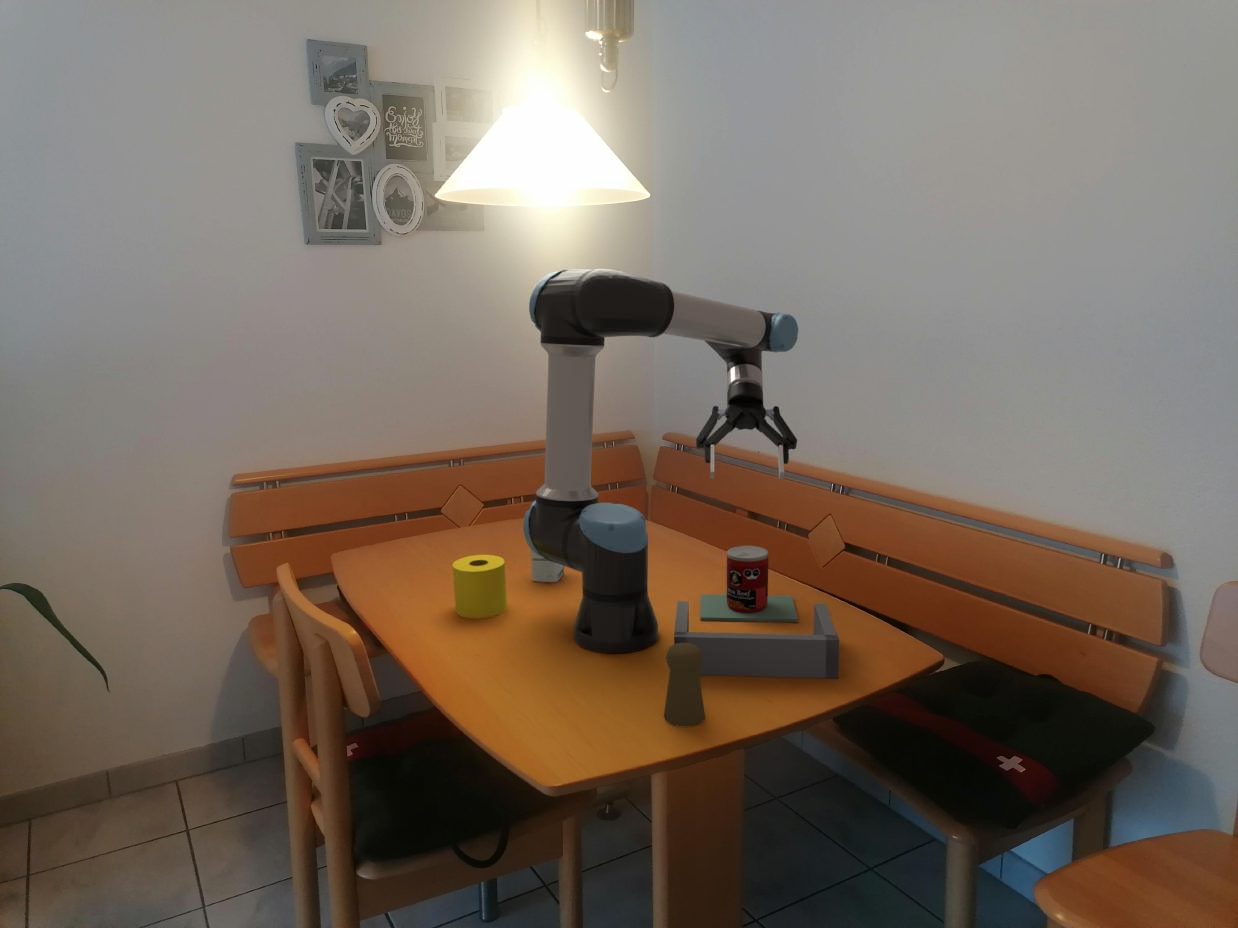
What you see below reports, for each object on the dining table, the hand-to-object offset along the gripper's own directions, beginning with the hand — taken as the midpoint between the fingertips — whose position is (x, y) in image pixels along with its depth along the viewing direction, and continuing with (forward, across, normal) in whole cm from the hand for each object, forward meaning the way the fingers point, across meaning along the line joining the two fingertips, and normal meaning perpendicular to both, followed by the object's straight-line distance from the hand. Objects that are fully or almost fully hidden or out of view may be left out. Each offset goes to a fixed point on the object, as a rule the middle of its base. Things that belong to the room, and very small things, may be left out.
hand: (746, 475), depth 169 cm
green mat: (+24, 0, -10) cm, 26 cm away
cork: (+54, +11, +19) cm, 58 cm away
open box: (+38, 0, +4) cm, 38 cm away
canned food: (+24, 0, -10) cm, 26 cm away
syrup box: (+13, +42, -22) cm, 49 cm away
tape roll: (+26, +52, -10) cm, 59 cm away
